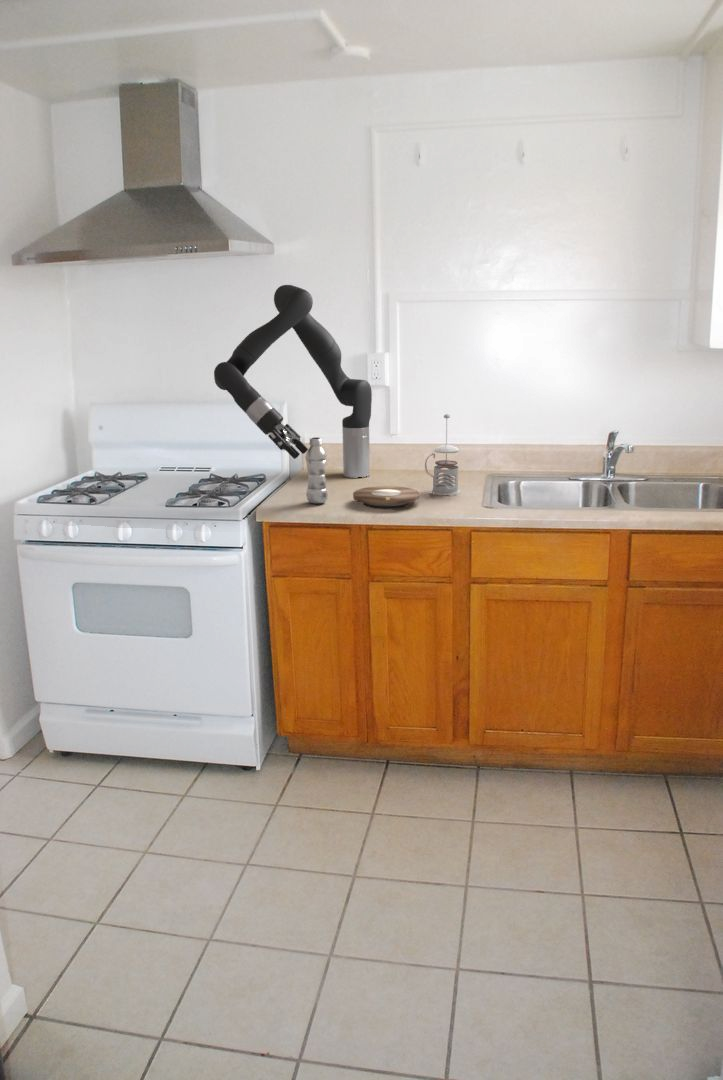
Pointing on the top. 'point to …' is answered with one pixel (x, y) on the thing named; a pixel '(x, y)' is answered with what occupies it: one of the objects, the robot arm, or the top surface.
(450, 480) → the french press
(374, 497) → the turntable platter
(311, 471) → the plastic bottle
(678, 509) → the top surface
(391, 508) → the turntable base
